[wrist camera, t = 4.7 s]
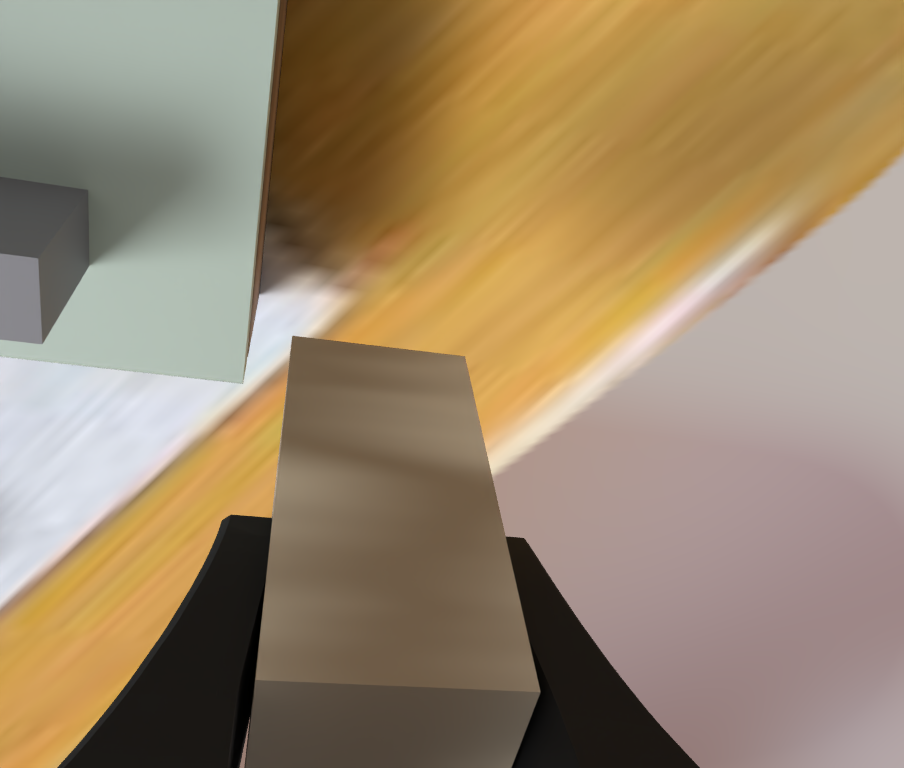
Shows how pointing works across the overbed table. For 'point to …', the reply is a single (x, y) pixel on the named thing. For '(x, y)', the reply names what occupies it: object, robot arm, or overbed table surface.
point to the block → (387, 574)
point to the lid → (133, 181)
